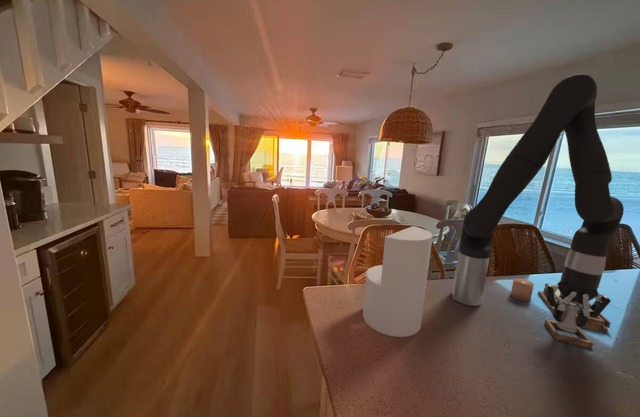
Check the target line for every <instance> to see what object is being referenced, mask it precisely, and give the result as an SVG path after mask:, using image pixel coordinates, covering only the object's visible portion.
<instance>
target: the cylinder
mask: <svg viewBox="0 0 640 417" xmlns="http://www.w3.org/2000/svg"><path fill="white" fill-rule="evenodd" d="M432 242H433V234H432V233H431V231H429V230H427V229H424V228H421V227H418V226H414V225H413V226H410V227H407V228H405V229H402V230H400V231H397V232H393V233H392V234H389V235H387V236H386V235H385V236H384V245H383V256H382V264H379V265H375V266H372V267H370V268H368V269H367V271H366V272H365V286H364V294H363V295H364V296H363V297H364V298H363V311H362V316H363V319H364V322H365V323H366V324H367V325H368V326H369V327H370V328H371V329H373V330H375V332H376V331H377V332H378V333H381V334H383V335H387V336H390V337H395V338H396V337H398V338H404V337H405V338H406V337H411V336H414V335H415V334H417V333H418V332H420V330H421V327H422V319H423V312H424V304H425V297H426V296H425V295H426V289H427V288H426V287H427V280H428V273H429V265H430V259H431V258H430V257H431V250H432Z"/></svg>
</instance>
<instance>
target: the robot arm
mask: <svg viewBox="0 0 640 417" xmlns="http://www.w3.org/2000/svg"><path fill="white" fill-rule="evenodd" d="M597 95H598V85H597V83H596V81H595V80H594V78H593V77H592V76H591V75H589V74H586V73H577V74H573V75H570V76H568V77H565V78H564V79H562V80H561V81H559V82H558V83H557V84H555V86H554V87H553V88H552V90H551V91H550V93H549V94H548V97H547V98H546V100H545V101H544V104H543V106H542V108H541V109H540V111H539V112H538V114H537V116H536V117H535V119H534V121H533V122H532V123H531V125H530V126H529V128H528V129H527V130H526V131H525V132H524V134H523V135H522V136H521V138H520V139H519V141H517V142H516V145H514V147H513V148H512V150H510V152H509V153H508V155H507V156H506V158H505V159H504V160H503V162H502V163H501V165H500V166H499V168H498V169H497V171H496V173H495V175H494V177H493V179H492V181H491V183H490V184H489V187H488V188H487V191H486V192H485V194H484V195H483V197H482V198H481V199H480V200H479V202H478V203H477V204H476V205H475V207H473V208H471V209H469V210H468V211H467V212H466V213H465V215H464V217H463V223H462V230H461V237H460V242H459V248H458V256H457V262H456V268H455V271H454V274H453V275H454V276H453V282H452V283H453V284H452V289H451V295H452V296H451V297H452V300H453V301H455V302H458V303H460V304H462V305H466V306H469V307H479V306H481V304H482V302H483V297H484V291H485V286H486V280H487V273H488V268H489V264H490V263H489V261H490V257H491V251H492V243H493V242H492V241H493V235H494V231H495V230H496V228H497V227H498V225H499V223H500V221H501V219H502V217H503V216H504V215H505V213H506V211H508V208H509V207H510V206H511V204H512V203H513V202H514V201H515V200H516V199H517V198H518V197H519V196H520V195H521V194H522V192H523V191H524V190H525V189H526V188H527V187H528V185H529V184H530V183H531V182H532V181H533V179H535V177H536V175H537V174H539V172H540V171H541V169H542V168H543V167H544V165H545V164H546V162H547V160H548V159H549V157H550V155H551V154H552V151H553V149H554V147H555V145H556V144H557V141H558V139H559V138H560V136H561V134H562V132H563V131H564V134H565V136H566V143H567V149H568V159H569V163H570V164H569V166H570V168H571V173H572V177H573V181H574V184H575V185H574V186H575V187H574V207H575V211H576V213H577V215H578V216H579V217H580V219H582V220H583V221H582V224H581V226H580V228H578V229H577V230H576V231H575V232H574V234H573V237H572V240H571V244H570V248H569V250H568V252H567V254H566V258H565V261H564V265H563V269H562V273H561V276H560V280H559V282H558V283H557V284H550V283H545V284H544V288H545V289H546V296H547V301H548V303H549V304H550V305H551V306H552V307H554V311H553V312H552V317H553V319H554V321H556V322H560V321H561V318H562V314H563V308H564V307H565V306H566V305H568V304H569V302H577V303H579V308H580V312H578V315H577V319H576V325H577V326H578V327H580V329H582V328H583V327H582V326H585V325H586V321H587V318H588V316H591V315H594V316H599V314H600V313H601V314H602V312H603V311H604V310H605V309H606V308H607V306H608V305H609V304H610V303H611V301H612V300H611V299H610V298H609V297H608V296H607V295H605V294H601V293H599V292H598V289H599V287H600V285H601V284H600V283H601V281H602V276H603V273H604V271H605V267H606V261H607V260H606V259H607V255H608V253H609V248H610V245H611V240H612V238H613V236H614V234H615V233H616V231H617V229H618V227H619V225H620V223H621V221H622V219H623V215H624V210H625V209H624V205H623V203H622V201H621V200H619V199H618V198H616V197H614V196H611V192H610V187H609V185H610V183H612V177H613V176H612V171H611V166H610V163H609V160H608V155H607V152H606V149H605V147H604V144H603V142H602V140H601V137H600V134H599V130H598V128H597V121H596V108H595V107H596V99H597ZM557 289H559V291H560V292H561V294H560V295H559V296H558V299H557V301H556V302H555V298H554V293H555V292H556V290H557ZM592 300H595V301H594V302H593V303H591V305H592V306H591V307H589V303H590V301H592Z"/></svg>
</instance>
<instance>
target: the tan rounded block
mask: <svg viewBox="0 0 640 417" xmlns="http://www.w3.org/2000/svg"><path fill="white" fill-rule="evenodd" d="M534 286H535V284H534V282H532V281H530V280H529V279H524V278H519V277H515V278H513V280H512V285H511V289H510V290H511V291H510V296H511V297H513V299H514V298H515V299H516V298H517V299H516V300H520V301H523V302H530V301H531V299H532V295H533V292H534V291H533V290H534Z"/></svg>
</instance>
